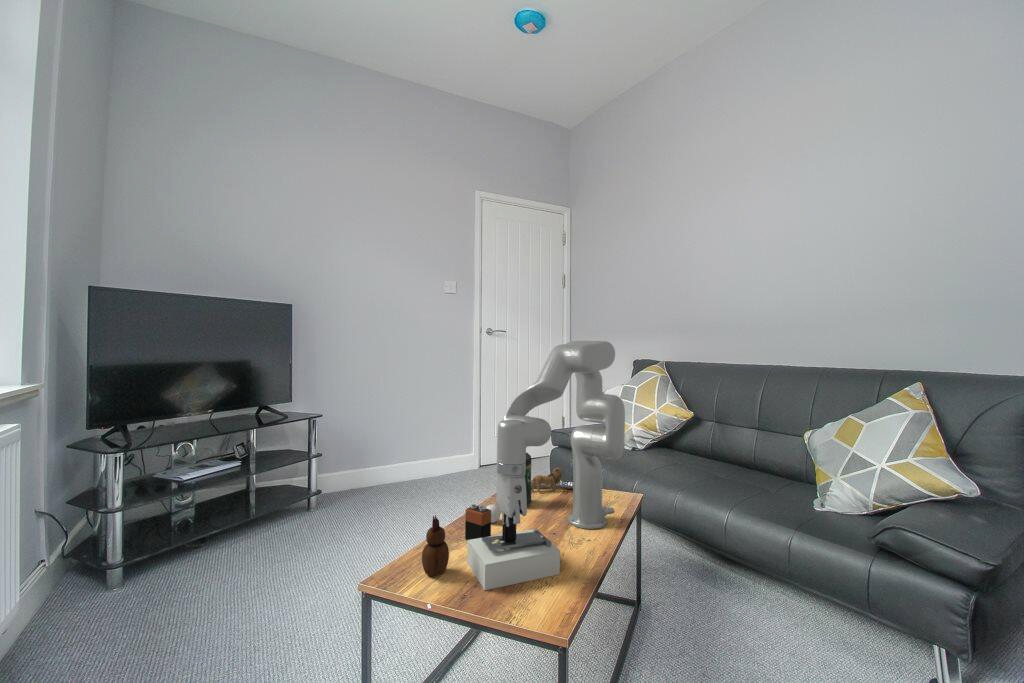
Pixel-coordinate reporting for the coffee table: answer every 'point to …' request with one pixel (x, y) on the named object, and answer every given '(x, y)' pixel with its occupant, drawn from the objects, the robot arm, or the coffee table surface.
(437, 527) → the wooden figurine
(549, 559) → the keepsake box
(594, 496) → the robot arm
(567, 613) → the coffee table surface
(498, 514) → the seamed sphere
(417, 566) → the coffee table surface
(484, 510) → the battery
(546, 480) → the lion figurine
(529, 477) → the coffee jar
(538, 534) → the clasp strap
